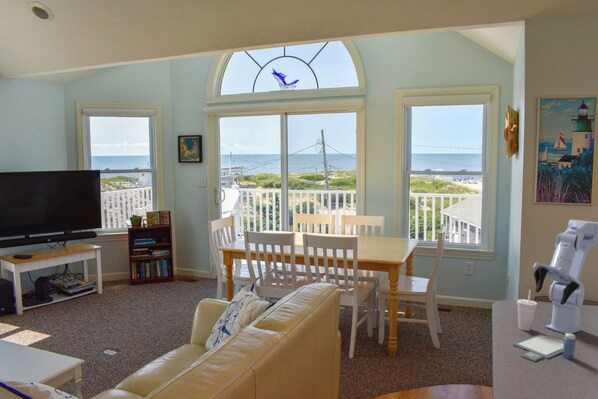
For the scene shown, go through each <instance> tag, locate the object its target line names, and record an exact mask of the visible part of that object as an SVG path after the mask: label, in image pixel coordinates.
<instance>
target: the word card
mask: <svg viewBox="0 0 598 399" xmlns="http://www.w3.org/2000/svg"><path fill="white" fill-rule="evenodd" d="M520 356H521V357H522V358H525V359H527V360H529V361H530V362H537V361H540V360H542V359H544V357H543V356H541V355H539V354H536V353H534V352H531V351H530V352H529V351H526V352H525V353H522V354H521V355H520Z"/></svg>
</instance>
